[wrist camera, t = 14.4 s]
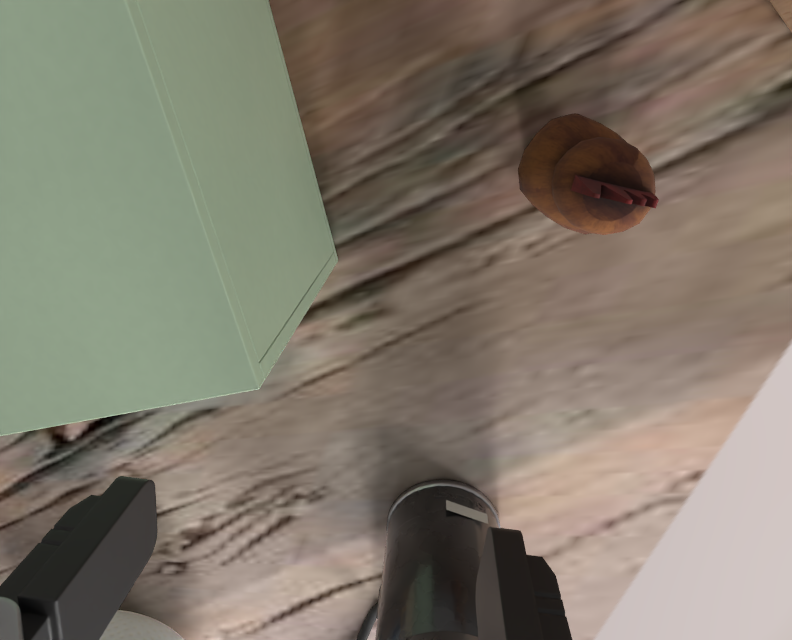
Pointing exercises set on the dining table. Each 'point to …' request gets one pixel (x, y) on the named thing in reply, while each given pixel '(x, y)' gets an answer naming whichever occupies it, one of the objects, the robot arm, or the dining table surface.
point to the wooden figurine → (586, 177)
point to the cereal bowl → (137, 628)
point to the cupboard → (148, 206)
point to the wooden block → (784, 10)
